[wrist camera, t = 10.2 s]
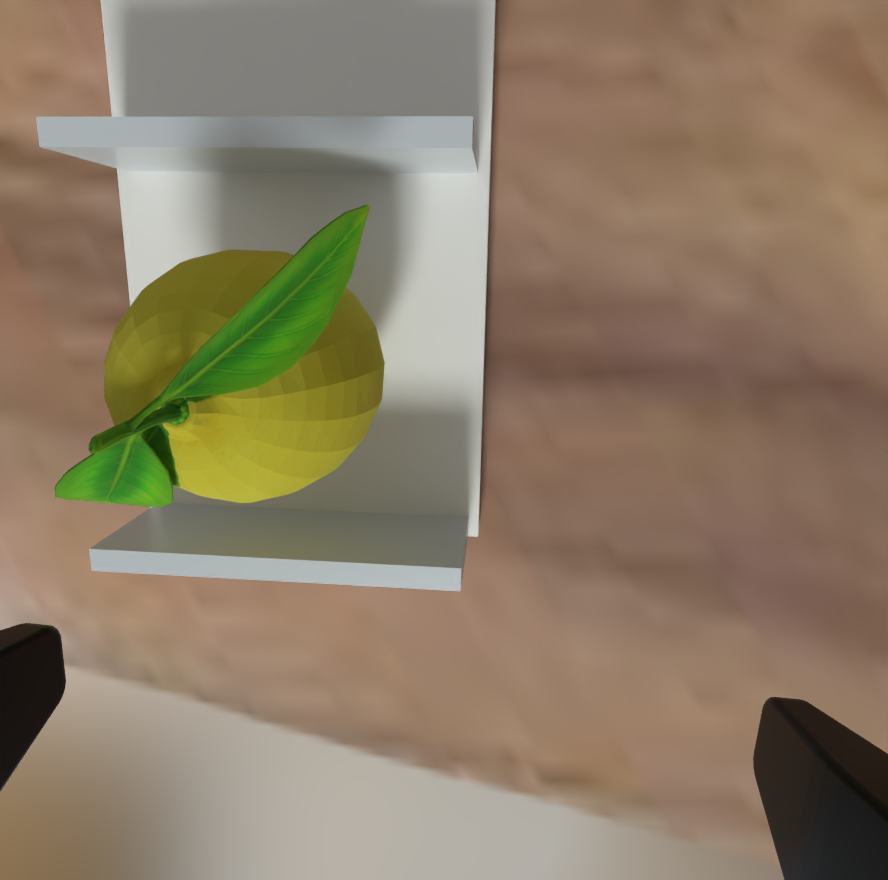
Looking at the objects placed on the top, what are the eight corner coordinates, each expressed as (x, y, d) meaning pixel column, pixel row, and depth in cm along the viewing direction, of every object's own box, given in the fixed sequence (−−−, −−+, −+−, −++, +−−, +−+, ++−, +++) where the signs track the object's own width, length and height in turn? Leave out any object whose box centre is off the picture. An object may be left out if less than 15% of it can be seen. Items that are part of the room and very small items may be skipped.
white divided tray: (505, -307, 15) (507, -539, 11) (479, 524, 20) (472, 591, 16) (95, -287, 16) (-55, -494, 12) (167, 509, 21) (80, 569, 17)
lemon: (419, 230, 17) (316, 176, 8) (433, 445, 19) (361, 625, 9) (177, 248, 18) (-196, 216, 8) (208, 454, 19) (-81, 631, 10)
